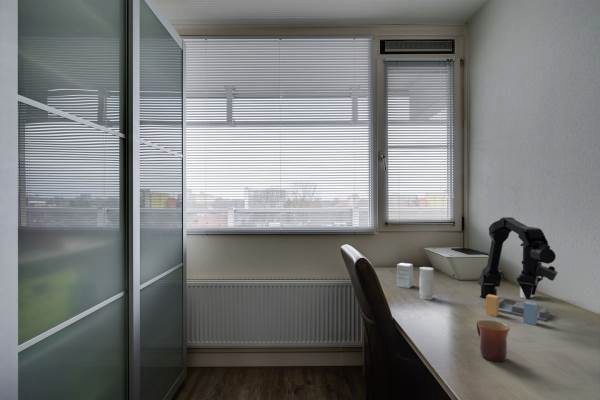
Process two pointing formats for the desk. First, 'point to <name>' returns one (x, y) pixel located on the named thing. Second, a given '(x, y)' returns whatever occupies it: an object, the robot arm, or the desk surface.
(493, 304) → the tan rectangular box
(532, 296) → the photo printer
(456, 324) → the desk surface
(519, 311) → the grey slotted base
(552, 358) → the desk surface
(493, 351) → the mug
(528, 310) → the blue plug
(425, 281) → the candle
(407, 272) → the supplement box
